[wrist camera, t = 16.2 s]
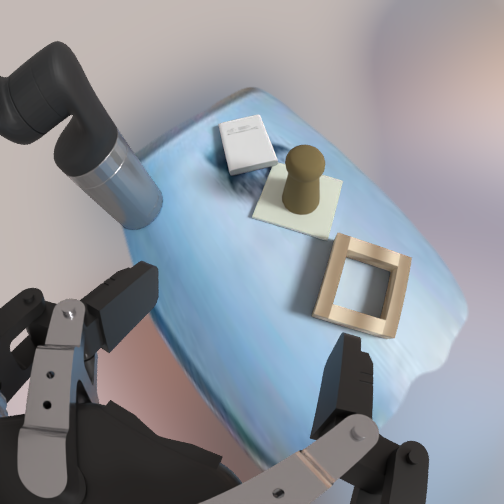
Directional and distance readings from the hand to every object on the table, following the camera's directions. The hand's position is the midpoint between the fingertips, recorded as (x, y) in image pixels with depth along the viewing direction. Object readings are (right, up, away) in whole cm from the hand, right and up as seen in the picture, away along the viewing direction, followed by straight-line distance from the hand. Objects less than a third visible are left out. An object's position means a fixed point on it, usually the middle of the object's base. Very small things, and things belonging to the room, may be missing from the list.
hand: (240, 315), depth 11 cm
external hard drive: (0, +22, +38) cm, 43 cm away
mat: (+8, +11, +33) cm, 36 cm away
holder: (+16, -3, +28) cm, 32 cm away
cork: (+8, +11, +33) cm, 36 cm away
